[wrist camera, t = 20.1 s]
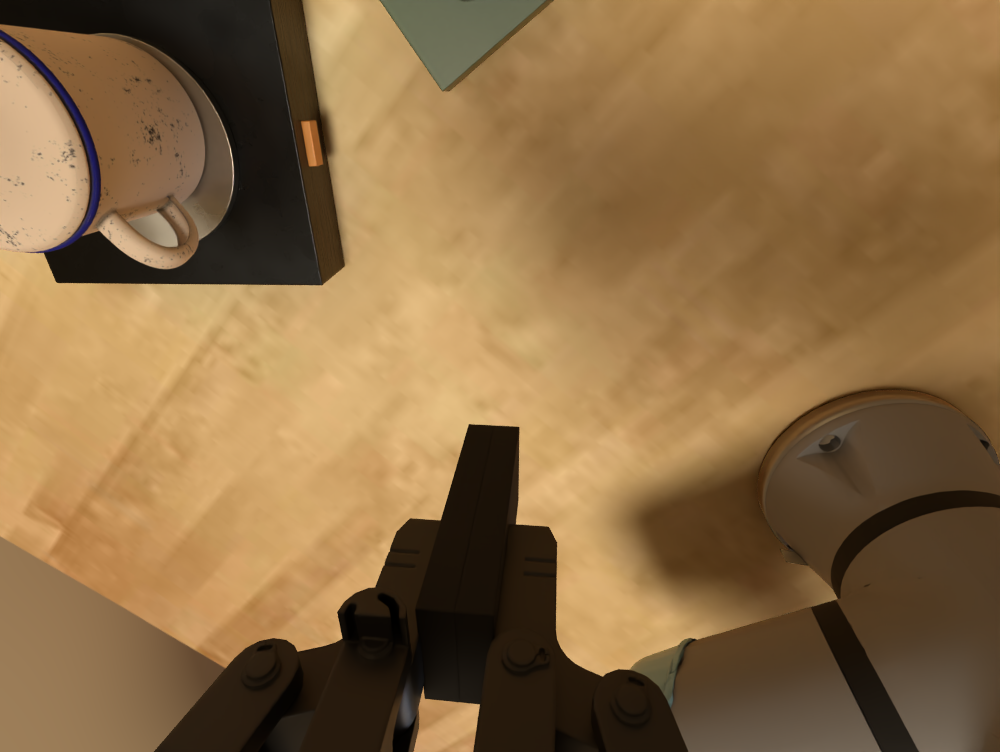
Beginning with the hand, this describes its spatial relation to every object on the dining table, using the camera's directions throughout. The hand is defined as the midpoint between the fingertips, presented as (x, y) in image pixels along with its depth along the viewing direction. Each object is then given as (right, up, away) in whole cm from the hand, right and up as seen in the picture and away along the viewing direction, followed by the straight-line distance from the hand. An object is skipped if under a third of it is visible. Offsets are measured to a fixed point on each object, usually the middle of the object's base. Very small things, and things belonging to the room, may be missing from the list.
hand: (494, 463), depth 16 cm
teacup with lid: (-19, +15, +14) cm, 28 cm away
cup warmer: (-20, +17, +18) cm, 32 cm away
